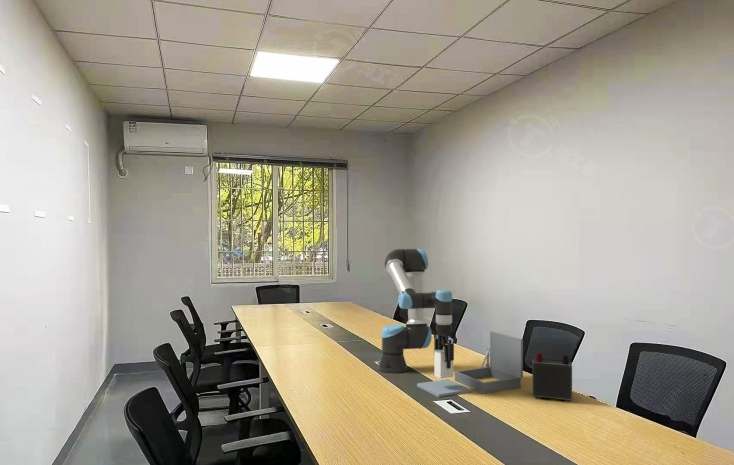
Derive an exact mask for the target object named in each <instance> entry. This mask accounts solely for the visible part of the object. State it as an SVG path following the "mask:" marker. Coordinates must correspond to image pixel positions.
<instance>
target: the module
mask: <svg viewBox="0 0 734 465" xmlns="http://www.w3.org/2000/svg"><path fill="white" fill-rule="evenodd" d="M433 359H434V362H433V363H434V367H433V368H434V375H433V376H434V377H436V378H438V379H439V380H442V379H448V378H453V377H454V360H453V361H451V368H450V375H447V376H445V375H444V373H445V361H444V360H446V359H445V352H444V348H443V349H441V350H435V355H434V358H433Z"/></svg>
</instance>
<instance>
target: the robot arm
mask: <svg viewBox="0 0 734 465" xmlns="http://www.w3.org/2000/svg"><path fill="white" fill-rule="evenodd" d="M428 267H429V259H428V256H427V253H426V251H424V249H419V248H396V249H393V250H391V251H390V252H389V253H388V254H387V255H386V257H385V259H384V268H385V271H386V272H387V274H390V277H391V279H392V281H393V283H394V286H395V287H396V290H397V292H398V294H399V295H398V297H397V298H398V300H397V301H398V307H399V308H400V309H401V310H402V309H404V310H407V316H408V317H407V319H408V320H407V321H406V323H405V327H404V324H399V323H398V324H396V323H394V324H389V325H385V326H384V327H382V330H381V355H380V359H379V362H378V365H377V366H378V370H379V371H380V372H383V373H387V374H388V373H389V374H397V373H399V374H400V373H403V372H406V371H407V370H408V368H407V366H408V365H407V362H406V358H405V356H404V350H414V349H415V350H417V349H418V350H421V349H426V348H428V347H429V346H430V344H431V342H432V337H433V339H434V342H433V344H434V345H433V347H434V348H433V350H434V351H433V352H434V353H433V355H434V356H435V350H441V349H444V352H445V359H446V360H444V361H445V373H444V375H445V376H447V375H450V368H451V361H453V362H454V360H455V339H454V338H452V337H451V333H452V332H453V324H452V323H453V292H452V290H450V289H449V290H448V289H438V290H436V291H429V292H424V288H423V286H424V285H423V275H424V274H426V273H425V272H426V270H427V269H428ZM425 309H435V323H436V324H435V332H437V334H433V336H432V332H433V331H432V328H431V327H430V326H429V325H428V322H427V321H426V320H425V311H424V310H425Z"/></svg>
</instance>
